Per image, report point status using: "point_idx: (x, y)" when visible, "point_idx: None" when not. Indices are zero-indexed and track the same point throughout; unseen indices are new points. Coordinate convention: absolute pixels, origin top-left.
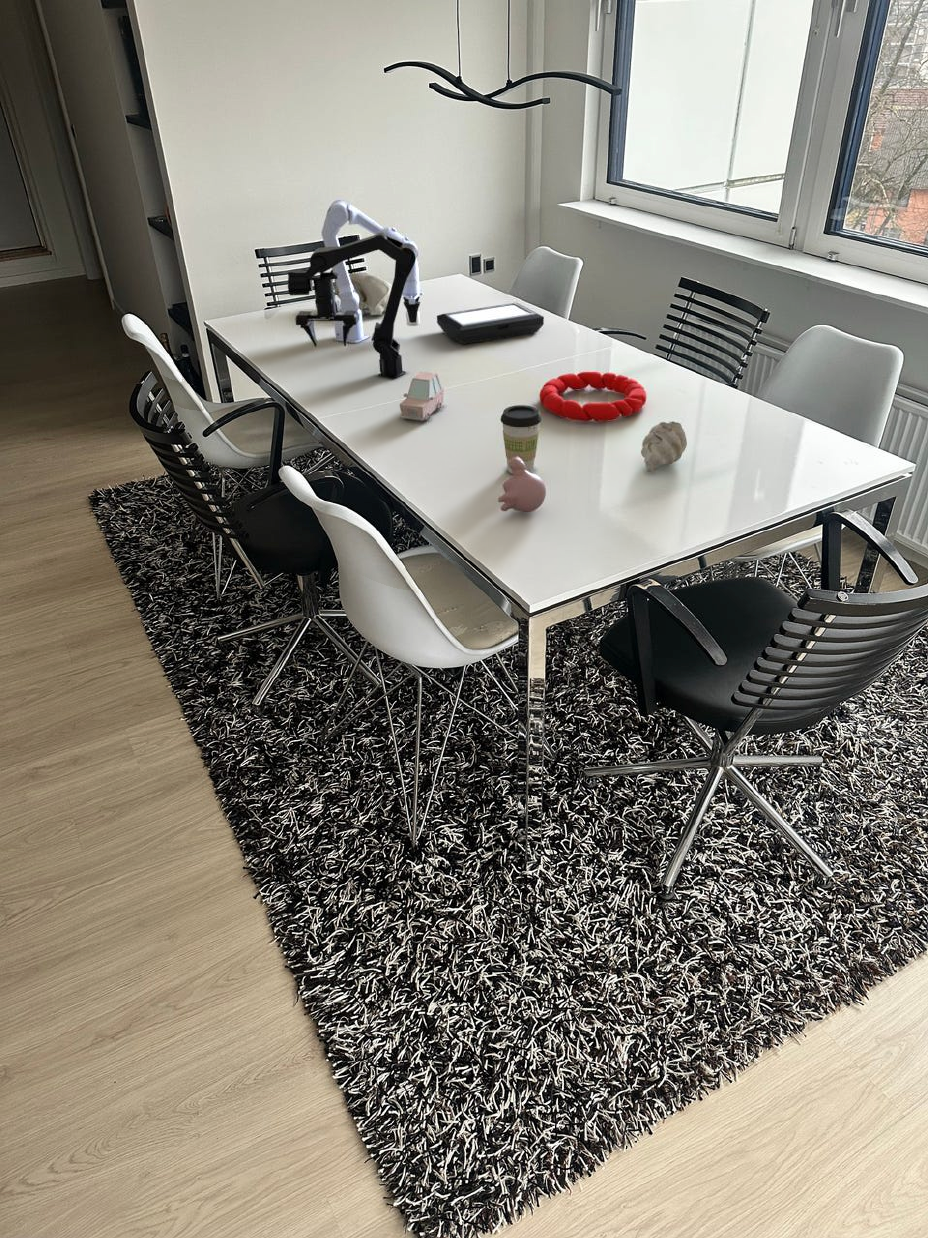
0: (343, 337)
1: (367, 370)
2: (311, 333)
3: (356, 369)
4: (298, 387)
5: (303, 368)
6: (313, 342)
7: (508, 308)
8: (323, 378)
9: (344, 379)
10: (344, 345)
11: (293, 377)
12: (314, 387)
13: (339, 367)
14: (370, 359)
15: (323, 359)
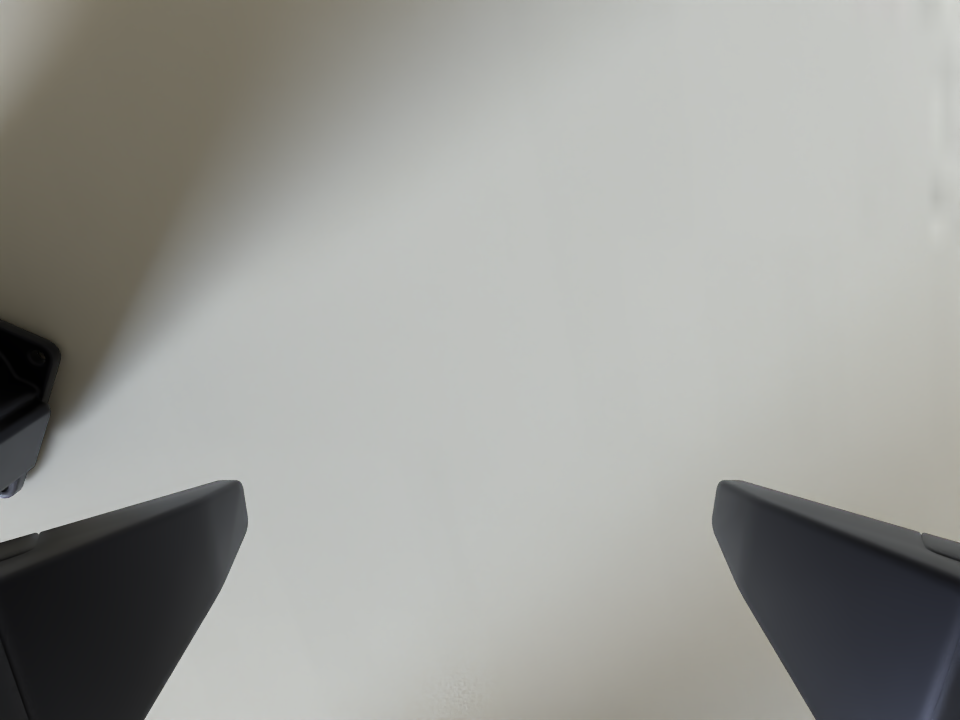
0: (118, 528)
1: None
2: (943, 567)
3: (321, 509)
4: (804, 10)
5: None
6: (789, 497)
7: None
8: (572, 290)
9: (360, 263)
10: (225, 482)
11: (868, 315)
12: (626, 11)
13: (480, 551)
14: (275, 703)
15: (642, 703)
